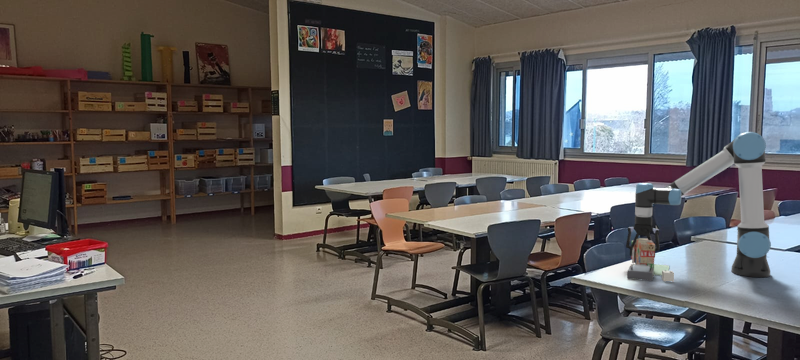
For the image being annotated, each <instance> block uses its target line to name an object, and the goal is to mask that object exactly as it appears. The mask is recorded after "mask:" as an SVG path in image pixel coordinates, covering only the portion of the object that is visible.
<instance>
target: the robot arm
mask: <svg viewBox="0 0 800 360" xmlns="http://www.w3.org/2000/svg"><path fill="white" fill-rule="evenodd" d="M766 147H767V144H766V141H765V138H764V137H763V136H762V135H761V134H759V133H757V132H755V131H746V132H745V131H744V132H741V133H740V134H738V135H737V136H736V137H735V138H734V139H733V140H732V141H731V142H729V143H728V144H726V145H725V146H724V147H723V149H722V150H721V151H720V152H718V153H717V154H715V155H714V156H712V157H710V158H709V159H707V160H705V161H704V162H703V163H701V164H700V165H698V166H696V167H695V168H693V169H691V170H690V171H689V172H687V173H685V174H684V175H682V176H680V177H679V178H677V179H676V180H674V181H673V182H671V183H669V184H668V185H666V186H664V187H662V188H661V187H660V188H658V187H654V185H653V183H650V182H649V183H647V182H645V183H644V182H642V183H641V182H639V183H637V184H636V186H635V195H634V197H635V204H634V205H635V207H634V208H635V210H634V211H635V212H634V215H635V216H634V226H629V227H627V239H626V242H625V243H626V244H625V247H626V249H628V250H629V256H630V257H631V256H632V259H631V264H635V263H634V254H635V249H633V247H634V245H635V243H636V239H637V238H639V236H643V237H644V236H645V237H646V239H648V240H651V241H652V242H654V241H653V239H652V236H651V233H652V232H653V233H654V238H655V239H654V240H655V252H657V251H660V240H659V238H660V237H659V232H660V229H659V228H654V226H653V217H652V216H653V205H666V206H667V205H668V206H679V205H681V204H682V196H684V195H687V193H689V192H691V191H692V190H694V189H696V188H697V187H698V186H700V185H702V184H704V183H706V182H708V181H709V180H710V179H713V177H714V176H716V175H718V174H720V173H721V172H723V171H725V170H727V168H729V167H731V166H733V165H735V166H736V167H737V168H738V170H737V171H738V185H739V186H738V187H739V205H740V206H739V207H740V222H739V223H738V224H737V229H736V231H737V235H736V236H737V237H736V238H737V239H736V256H735V258H734V260H733V262H732V265H731V270H730V271H731V273H733V274H736V275H740V276H742V277H743V276H744V277H752V278H768V277H770V276H771V268H770V265H769V262H768V259H767V255H768V253H769V251H770V250H771V246H772V244H771V240H770V226H769V224H767V223H766V222H765V210H764V190H763V189H764V187H763V171H762V169H763V168H762V167H763V166H764V164H765V163H766V162H767V161H766V149H767V148H766ZM634 231H635V232H636V234H635V236H634V238H633V239H632V241H633V242H632V241H631V236H632V232H634ZM631 242H632V245H630V243H631ZM655 258H656V256H655V257H654V259H655Z"/></svg>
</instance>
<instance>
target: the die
mask: <svg viewBox="0 0 800 360" xmlns="http://www.w3.org/2000/svg"><path fill="white" fill-rule="evenodd" d="M661 280H662V282H666V281H672V282H671V283H674V282H675V272H674V271H673V270H669V271H666V270H662V276H661Z"/></svg>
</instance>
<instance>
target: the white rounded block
mask: <svg viewBox="0 0 800 360" xmlns="http://www.w3.org/2000/svg"><path fill="white" fill-rule="evenodd" d="M632 266H633V269H632V270H633V271H643V272H649V270H650V267H649V266H647V265H640V264H636V265H635V264H633V265H632Z"/></svg>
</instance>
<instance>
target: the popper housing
mask: <svg viewBox="0 0 800 360" xmlns="http://www.w3.org/2000/svg"><path fill="white" fill-rule="evenodd" d="M632 269H633V265H630V266H629V267H628V269H627V279H630V278H636V279H635V280H639V279H642V281H649V282H650V281H651V282H652V281H653V279H654V277H653V276H655V275H654V268H650V270H649V272H643V271H633V270H632Z"/></svg>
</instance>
